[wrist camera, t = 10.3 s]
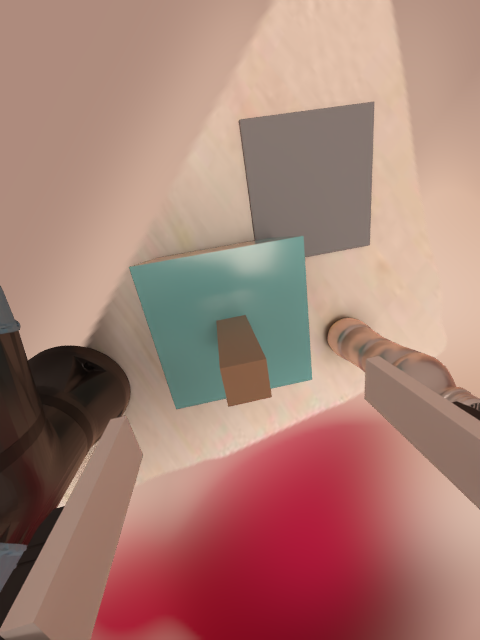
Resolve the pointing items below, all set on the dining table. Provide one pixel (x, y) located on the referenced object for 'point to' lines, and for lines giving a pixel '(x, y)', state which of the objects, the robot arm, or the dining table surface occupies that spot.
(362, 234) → the mat
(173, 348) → the teal base with peg
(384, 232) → the dining table surface
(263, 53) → the dining table surface
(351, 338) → the plastic bottle
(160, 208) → the dining table surface
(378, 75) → the dining table surface
